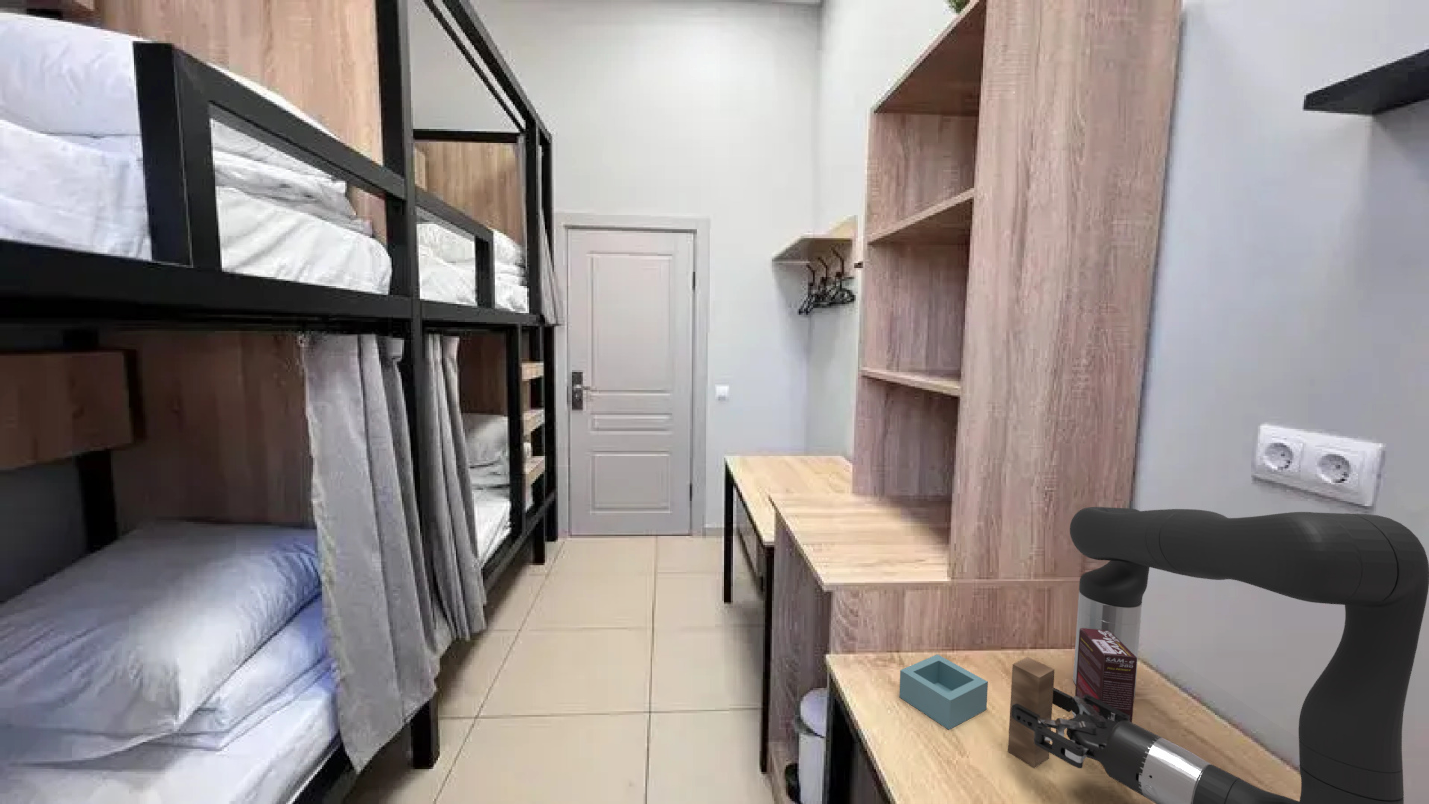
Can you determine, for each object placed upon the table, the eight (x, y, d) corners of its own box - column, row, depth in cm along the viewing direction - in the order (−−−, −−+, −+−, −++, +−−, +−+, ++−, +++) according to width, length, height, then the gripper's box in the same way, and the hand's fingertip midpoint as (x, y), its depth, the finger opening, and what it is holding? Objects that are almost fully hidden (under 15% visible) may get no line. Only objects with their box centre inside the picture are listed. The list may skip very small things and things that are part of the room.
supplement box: (1131, 759, 84) (1139, 658, 83) (1095, 754, 85) (1102, 654, 84) (1104, 721, 92) (1110, 629, 91) (1071, 717, 93) (1077, 626, 92)
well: (899, 697, 99) (900, 670, 98) (936, 680, 104) (937, 654, 104) (948, 729, 90) (950, 700, 90) (986, 709, 95) (987, 681, 95)
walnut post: (1007, 751, 86) (1012, 664, 84) (1022, 742, 88) (1027, 656, 86) (1034, 768, 82) (1039, 677, 81) (1049, 758, 84) (1054, 669, 83)
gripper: (1184, 721, 74) (1056, 663, 88) (1133, 762, 66) (1002, 691, 80) (1179, 775, 75) (1053, 708, 88) (1129, 821, 67) (1000, 740, 81)
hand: (1029, 700), depth 84 cm, fingers open, 8 cm apart
